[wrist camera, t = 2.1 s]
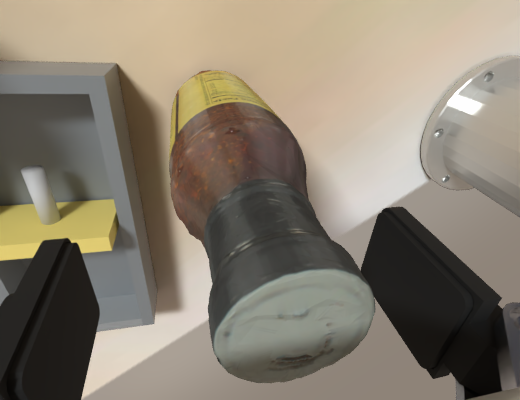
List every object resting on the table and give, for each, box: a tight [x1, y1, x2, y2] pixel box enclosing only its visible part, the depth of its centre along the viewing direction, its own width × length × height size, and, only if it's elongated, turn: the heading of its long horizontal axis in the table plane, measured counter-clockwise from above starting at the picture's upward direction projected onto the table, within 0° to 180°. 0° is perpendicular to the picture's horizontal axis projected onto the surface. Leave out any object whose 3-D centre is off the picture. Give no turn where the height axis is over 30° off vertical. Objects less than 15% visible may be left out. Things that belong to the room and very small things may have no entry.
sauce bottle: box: [169, 70, 375, 383], centre depth 16 cm, size 7×6×20 cm
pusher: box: [0, 165, 119, 261], centre depth 21 cm, size 8×5×5 cm, turn 87°
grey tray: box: [0, 61, 157, 332], centre depth 24 cm, size 11×22×4 cm, turn 177°
